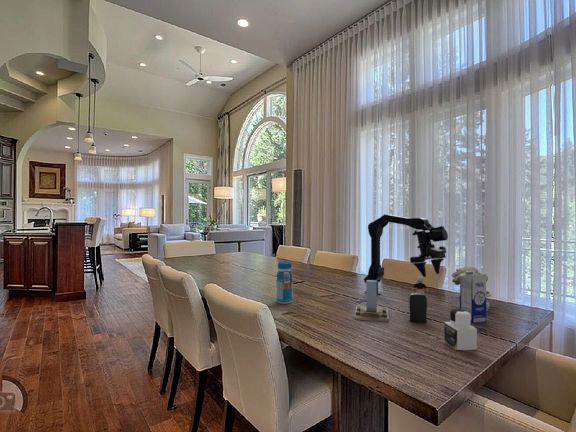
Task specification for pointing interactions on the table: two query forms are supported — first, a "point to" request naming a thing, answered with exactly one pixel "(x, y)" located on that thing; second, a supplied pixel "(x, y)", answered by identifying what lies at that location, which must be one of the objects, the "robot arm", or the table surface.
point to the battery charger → (417, 307)
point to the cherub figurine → (457, 281)
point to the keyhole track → (371, 314)
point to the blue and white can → (284, 283)
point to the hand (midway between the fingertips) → (431, 275)
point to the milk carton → (473, 296)
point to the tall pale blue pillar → (371, 295)
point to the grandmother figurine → (419, 285)
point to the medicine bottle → (460, 331)
